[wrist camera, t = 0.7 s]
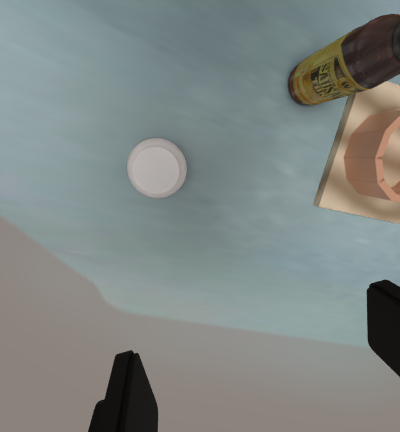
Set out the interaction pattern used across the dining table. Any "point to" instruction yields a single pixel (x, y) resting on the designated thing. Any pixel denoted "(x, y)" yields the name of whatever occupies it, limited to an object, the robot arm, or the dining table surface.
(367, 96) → the birch board
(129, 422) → the robot arm
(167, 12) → the dining table surface
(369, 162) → the jar collar
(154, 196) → the supplement bottle
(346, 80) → the sauce bottle
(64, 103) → the dining table surface
